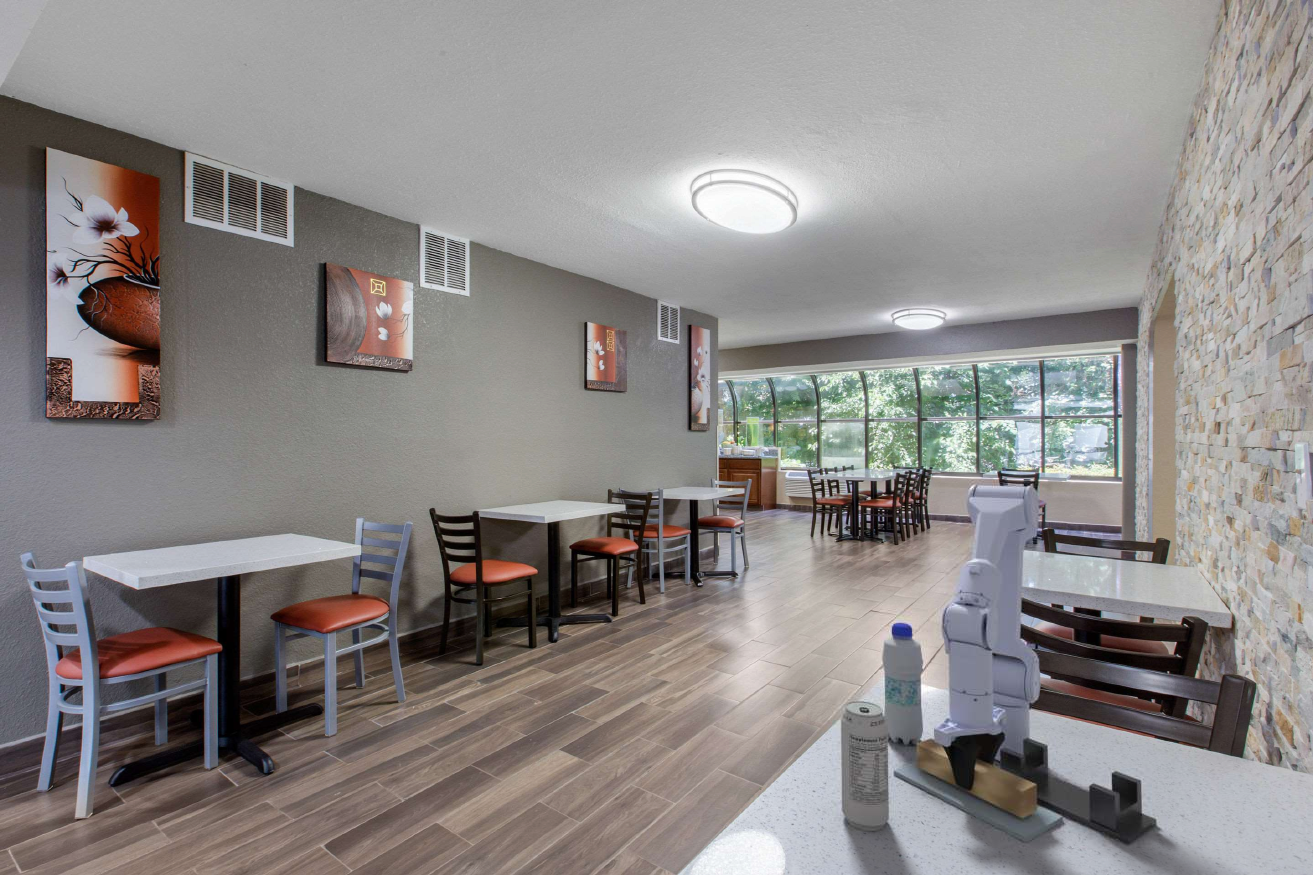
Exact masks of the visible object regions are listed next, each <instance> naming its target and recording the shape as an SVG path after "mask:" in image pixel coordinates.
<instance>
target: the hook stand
mask: <svg viewBox="0 0 1313 875" xmlns="http://www.w3.org/2000/svg"><path fill="white" fill-rule="evenodd" d="M1048 750H1049V748H1048V744H1046V743H1042V742H1040V741H1037V740H1034V739H1032V738H1030V739H1029V738H1026V739H1023V755H1022V754H1020V753H1017V752H1015V751H1012V750H1010V749H1007V748H1003V749H1000V761H999V763H1000V764H999V766H1000V767H999V768H1000V769H1002V770H1005V771H1007V772H1009V773H1012V774H1014V775H1016V776H1019V777H1021V778H1023V779H1025V780H1028V781H1030V782H1032V783H1035V784H1037V805H1039V806H1041V807H1043V808H1045V809H1048V810H1050V811H1052V812H1054V813H1056V814H1059V815H1061V816H1064V817H1066V818H1068V819H1070V820H1073V821H1075V822H1077V823H1079V824H1082V825H1084V826H1086V827H1088V828H1090V829H1093V830H1094V831H1098V832H1100V833H1102V834H1103V835H1106V836H1108V837H1111V838H1112V839H1115V840H1117V841H1119V842H1121V843H1124V844H1126V845H1130V844H1132V843H1134V842H1135V841H1136V840H1137V839H1139V838H1140V837H1142V836H1143V835H1145V834H1146V833H1148V832H1149V831H1150V830H1152V829H1153V828H1155V827H1156V826H1157V819H1156V818H1155V817H1152V816H1149V815H1148V814H1144V813H1143V806H1142V805H1143V802H1142V796H1143V794H1142V780H1141V779H1138V778H1135V777H1132V776H1130V775H1127V774H1125V773H1122V772H1119V771H1117V770H1115V771H1113V772H1112V773H1111V789H1109V788H1107V787H1104V786H1102V785H1099V784H1097V783H1092V784H1089V786H1088V787H1089V788H1088V790H1086V789H1084V788H1081V787H1079V786H1077V785H1074V784H1072V783H1070V782H1067V781H1064V780H1063V779H1060V778H1058V777H1055V776H1052V775H1050V774H1049V752H1048Z"/></svg>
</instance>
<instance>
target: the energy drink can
mask: <svg viewBox="0 0 1313 875" xmlns="http://www.w3.org/2000/svg"><path fill="white" fill-rule="evenodd" d="M883 711H884V710H883V708H882V707H881V706H879V705H878V704H876V703H873V702H870V701H861V700H854V701H849V702H847V703H846V704H845V708H844V711H843V713H842V714H841V717H840V743H841V745H840V746H841V750H840V751H841V753H840V755H841V756H840V758H841V762H840V763H841V765H840V766H841V812H842V814H843V815H844V817H845V818H846V821H847V822H848V823H849V824H850V825H851V826H852V827H854V828H855V829H858V830H861V831H865V832H876V831H880V830H881V829H883V828H884V827H885V824H886V823H887V822H888V821H889V818H890V813H889V812H890V811H889V809H890V808H889V806H890V805H889V804H890V803H889V802H890V801H889V799H890V797H889V794H890V793H889V791H890V790H889V743H888V742H889V741H888V740H889V737H888V724H887V721H886V719H885V717H884V712H883Z"/></svg>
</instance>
